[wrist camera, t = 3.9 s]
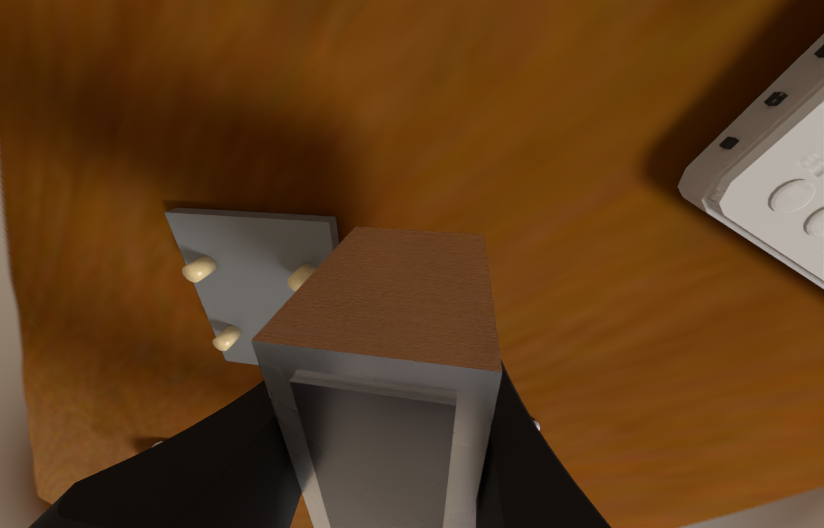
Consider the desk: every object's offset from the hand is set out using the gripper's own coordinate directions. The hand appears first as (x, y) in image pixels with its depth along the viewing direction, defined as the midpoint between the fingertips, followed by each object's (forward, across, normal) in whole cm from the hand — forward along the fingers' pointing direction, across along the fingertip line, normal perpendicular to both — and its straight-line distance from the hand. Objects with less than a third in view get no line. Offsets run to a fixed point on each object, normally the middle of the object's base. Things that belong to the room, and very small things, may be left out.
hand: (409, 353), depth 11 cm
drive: (+2, 0, 0) cm, 2 cm away
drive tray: (+8, +12, +4) cm, 15 cm away
